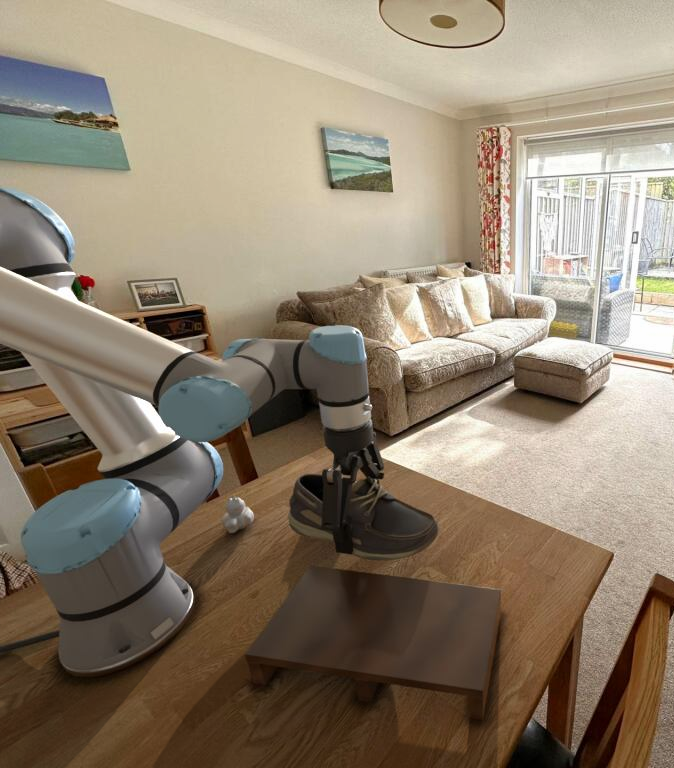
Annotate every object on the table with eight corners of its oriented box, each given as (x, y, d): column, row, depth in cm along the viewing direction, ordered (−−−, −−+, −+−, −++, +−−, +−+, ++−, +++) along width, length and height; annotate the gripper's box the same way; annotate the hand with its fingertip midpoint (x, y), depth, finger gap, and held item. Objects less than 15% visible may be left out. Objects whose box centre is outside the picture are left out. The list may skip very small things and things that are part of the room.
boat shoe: (423, 573, 67) (421, 522, 63) (269, 542, 72) (258, 492, 68) (446, 529, 77) (445, 482, 73) (309, 503, 82) (302, 458, 78)
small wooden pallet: (254, 683, 55) (244, 654, 53) (316, 591, 69) (310, 565, 67) (482, 720, 52) (482, 690, 50) (500, 616, 66) (501, 589, 64)
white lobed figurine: (261, 516, 86) (253, 485, 83) (247, 538, 80) (238, 505, 77) (233, 518, 85) (224, 487, 82) (217, 541, 79) (207, 508, 76)
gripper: (331, 462, 55) (348, 583, 63) (397, 395, 76) (403, 492, 84) (279, 456, 55) (303, 576, 64) (359, 392, 77) (369, 488, 85)
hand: (360, 528), depth 74 cm, fingers closed on boat shoe, 11 cm apart
